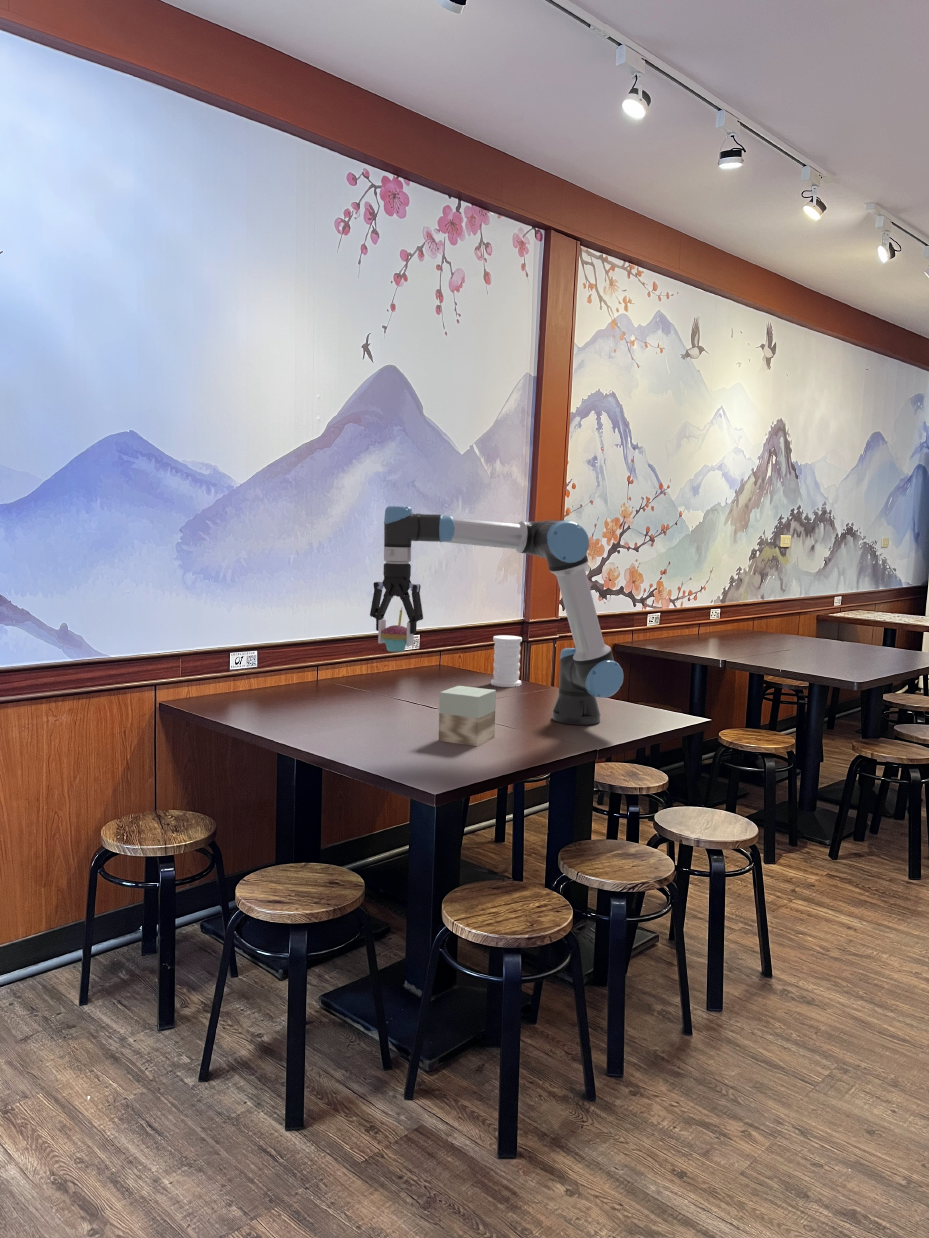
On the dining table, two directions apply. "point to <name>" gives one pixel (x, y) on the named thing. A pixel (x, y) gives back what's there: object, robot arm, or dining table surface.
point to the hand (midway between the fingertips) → (395, 644)
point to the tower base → (466, 729)
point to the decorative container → (506, 661)
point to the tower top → (467, 701)
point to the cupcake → (395, 636)
